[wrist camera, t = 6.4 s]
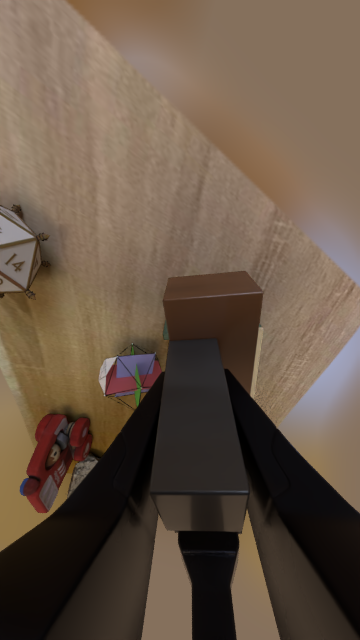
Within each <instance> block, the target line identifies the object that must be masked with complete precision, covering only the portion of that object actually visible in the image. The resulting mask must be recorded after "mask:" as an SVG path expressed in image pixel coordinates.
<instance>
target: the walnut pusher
mask: <svg viewBox="0 0 360 640" xmlns="http://www.w3.org/2000/svg"><path fill="white" fill-rule="evenodd" d="M262 300H263V291H262V289H261V288H260V287H259V286H258V285H257V284H256V282H255V281H254V280H253V279H252V278H251V277H250V275H249V274H248V273H247V272H246V271H239V272H228V273H217V274H206V275H195V276H183V277H172V278H168V282H167V286H166V290H165V294H164V298H163V306H164V312H165V318H166V324H167V330H168V336H169V346H168V353H167V361H166V368H165V376H164V383H163V391H162V398H161V406H160V413H159V421H158V428H157V435H156V443H155V450H154V458H153V465H152V473H151V480H150V488H149V493H150V496H151V498H152V500H153V502H154V504H155V506H156V509H157V511H158V513H159V515H160V517H161V519H162V521H163V524H164V526H165V528H166V529H167V530H175V531H228V532H241V531H242V529H243V524H244V520H245V515H246V510H247V505H248V501H249V496H250V488H249V483H248V479H247V474H246V469H245V465H244V460H243V456H242V451H241V446H240V442H239V437H238V433H237V428H236V423H235V419H234V414H233V410H232V405H231V400H230V396H229V391H228V386H227V382H226V377H225V373H224V369H229V370H230V372H231V373H232V374H233V375H234V376H235V378H236V379H237V380H238V381H239V382H240V384H241V385H242V386H243V387H244V388H245V390H246V391H247V392H248V393H249V395H250V394H251V386H252V379H253V371H254V363H255V355H256V347H257V339H258V331H259V324H260V316H261V308H262Z"/></svg>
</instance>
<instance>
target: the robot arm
mask: <svg viewBox="0 0 360 640" xmlns="http://www.w3.org/2000/svg"><path fill="white" fill-rule="evenodd" d="M224 373H225V377H226V382H227V386H228V391H229V396H230V400H231V405H232V410H233V414H234V419H235V423H236V428H237V433H238V437H239V442H240V446H241V451H242V456H243V460H244V465H245V469H246V474H247V479H248V483H249V488H250V496H249V501H248V505H247V510H248V514H249V518H250V522H251V526H252V529H253V533H254V537H255V541H256V545H257V549H258V553H259V557H260V561H261V565H262V569H263V573H264V577H265V581H266V585H267V588H268V592H269V597H270V600H271V604H272V608H273V612H274V616H275V620H276V624H277V628H278V632H279V635H280V639H281V640H360V513H359V512H357V511H356V510H355V509H354V508H353V507H352V506H351V505H350V504H349V503H348V502H347V501H346V500H344V498H343V497H342V496H341V495H340V494H339V493H338V492H337V491H336V490H335V489H334V488H333V487H332V486H331V485H330V484H329V483H328V482H327V481H326V480H325V479H324V478H323V477H322V476H321V475H320V474H319V473H318V472H317V471H316V470H315V469H314V468H313V467H312V466H311V465H310V464H309V463H308V462H307V461H306V460H305V459H304V458H303V457H302V456H301V455H300V453H299V452H298V451H297V450H296V449H295V448H294V447H293V446H292V445H291V444H290V442H289V441H288V440H287V439H286V438H285V437H284V435H283V434H282V433H281V432H280V431H279V430H278V429H276V426H275V425H274V423H273V422H272V421H271V420H270V419H269V417H268V416H267V415H266V414H265V413H264V411H263V410H262V409H261V408H260V407H259V405H258V404H257V403H256V402H255V401H254V399H253V398H252V397H251V396H250V395H249V393H248V392H247V391H246V390H245V388H244V387H243V386H242V385H241V384H240V382H239V381H238V380H237V379H236V378H235V376H234V375H233V374H232V373H231V372H230V370H229V369H224ZM164 376H165V372H161V373H160V375H159V376H158V378H157V379H156V381H155V382H154V384H153V385H152V386H151V388H150V389H149V391H148V392H147V394H146V395H145V397H144V398H143V399H142V401H141V402H140V404H139V405H138V407H137V408H136V410H135V411H134V412H133V414H132V415H131V417H130V418H129V420H128V421H127V422H126V424H125V425H124V427H123V428H122V430H121V432H120V433H119V434H118V435H117V437H116V438H115V440H114V441H113V442H112V444H111V445H110V447H109V448H108V449H107V451H106V452H105V453H104V455H103V456H102V457H101V458H100V460H99V461H98V462H97V463H96V465H95V466H94V467H93V468H92V469H91V471H90V472H89V473H88V474H87V475H86V477H85V478H84V479H83V480H82V481H81V483H80V484H79V485H78V486H77V487H76V489H75V490H74V491H73V492H72V493H71V495H70V496H69V497H68V498H67V499H66V501H65V502H64V503H63V504H62V505H61V506H60V507H59V508H58V509H57V510H56V511H55V512H54V513H53V514H52V515H50V517H48V518H47V519H46V520H44V521H43V522H41V523H40V524H39V525H37V526H36V527H35V528H33V529H32V530H30V531H29V532H27V533H26V534H25V535H23V536H22V537H21V538H19V539H18V540H16V541H15V542H13V543H12V544H11V545H9V546H8V547H6V548H5V549H4V550H2V551H1V552H0V640H141V637H142V630H143V623H144V615H145V608H146V601H147V594H148V585H149V579H150V572H151V565H152V557H153V550H154V543H155V540H154V539H155V535H156V528H157V520H158V511H157V509H156V506H155V504H154V502H153V500H152V498H151V496H150V493H149V488H150V480H151V473H152V465H153V458H154V450H155V443H156V435H157V428H158V421H159V413H160V406H161V398H162V391H163V383H164ZM175 533H178V544H179V548H180V553H181V557H182V560H183V564H184V566H185V569H186V572H187V575H188V578H189V581H190V584H191V586H192V640H237V639H236V630H235V622H234V613H233V604H232V595H231V587H232V583H233V579H234V575H235V571H236V567H237V563H238V554H239V537H238V534H242V531H241V532H228V531H175Z"/></svg>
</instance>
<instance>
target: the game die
mask: <svg viewBox="0 0 360 640" xmlns="http://www.w3.org/2000/svg"><path fill="white" fill-rule="evenodd" d="M19 211H21V209H20V205H13V207H12V210H10V209H8V208H5V207H3V206H1V205H0V298H3V296H5V295H4V293H20V292H25V293H26V295H27V296H28V297H29V298H31V299H35V294H34V293H33V291H32V292H31V291H30V290H29V288H30V286H31V284H32V282H33V280H34V278H35V276H36V274H37V272H38V270H39V268H40V266H41V265H43V266H46V267H48V266H50V264H49V263H48V261H47V262H46V261H42V259H41V251H40V243H39V240H42V241H44V240H46V241H47V239H48V237H49V235H47V234H44V233H42V234H39V235H38V236H37V235H36V234H35V233H34V232H33V231H32V230H31V229H30V228H29V227H28V226H27V225H26V224H25V223H24V222H23V220H22V219H21V218H20V217H19V216H18V215H17V214H16V213H19ZM35 300H36V299H35Z"/></svg>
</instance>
